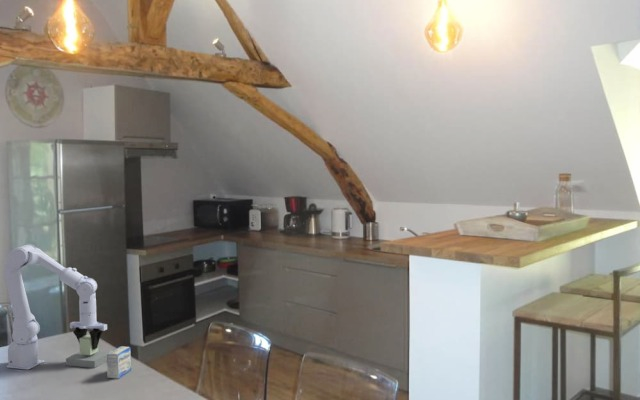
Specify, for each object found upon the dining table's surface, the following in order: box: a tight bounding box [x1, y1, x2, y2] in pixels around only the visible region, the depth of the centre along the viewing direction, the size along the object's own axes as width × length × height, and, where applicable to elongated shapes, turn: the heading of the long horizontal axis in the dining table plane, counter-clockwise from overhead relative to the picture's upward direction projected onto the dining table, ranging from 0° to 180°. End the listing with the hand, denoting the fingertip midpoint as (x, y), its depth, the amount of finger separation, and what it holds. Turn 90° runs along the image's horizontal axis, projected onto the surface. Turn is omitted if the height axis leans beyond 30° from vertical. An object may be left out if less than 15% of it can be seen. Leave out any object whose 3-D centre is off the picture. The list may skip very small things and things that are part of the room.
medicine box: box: [106, 345, 132, 380], centre depth 182 cm, size 8×4×9 cm, turn 168°
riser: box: [65, 350, 111, 369], centre depth 194 cm, size 12×10×2 cm
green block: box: [78, 334, 99, 355], centre depth 194 cm, size 4×4×6 cm
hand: (89, 348), depth 194 cm, fingers closed on green block, 4 cm apart
